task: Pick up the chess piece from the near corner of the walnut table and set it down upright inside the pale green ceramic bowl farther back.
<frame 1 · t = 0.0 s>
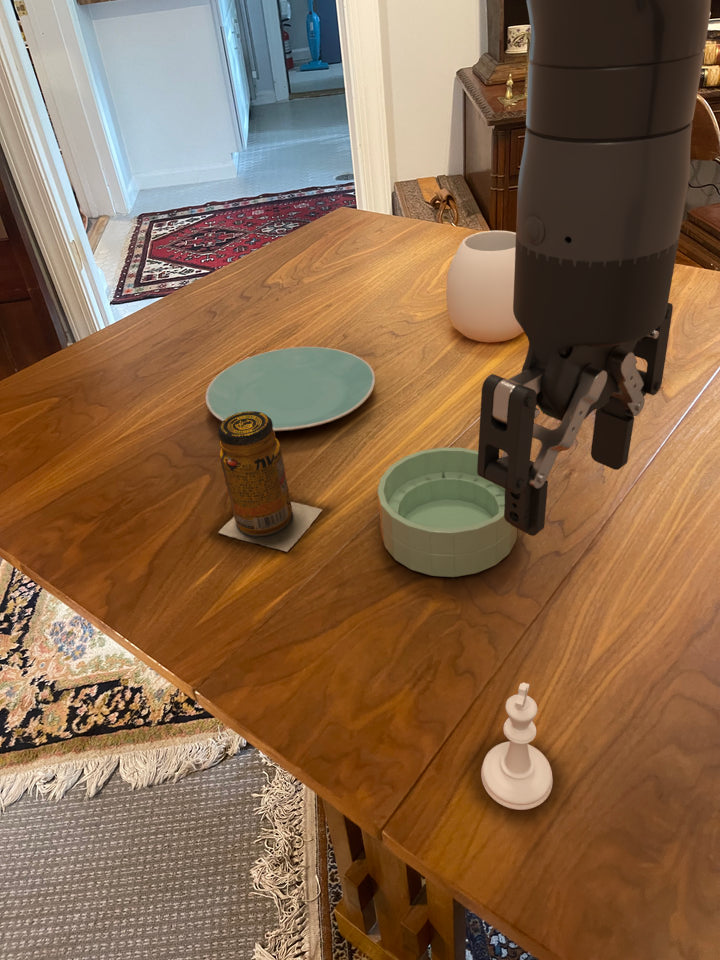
hand: (568, 493, 45), 20 cm above the table, tool pointing down, fingers open, 8 cm apart
plate: (293, 403, 97), on the table
bowl: (448, 534, 73), on the table
condiment: (271, 524, 77), on the table
chess piece: (516, 778, 52), on the table
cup: (491, 332, 108), on the table
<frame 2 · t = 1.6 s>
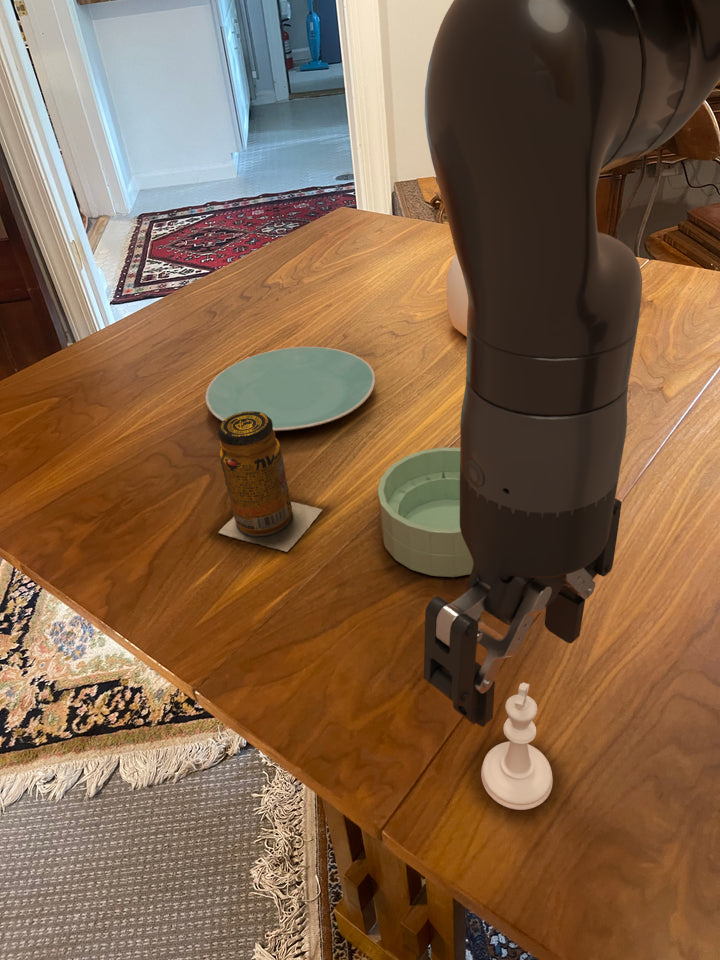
hand: (519, 672, 45), 11 cm above the table, tool pointing down, fingers open, 8 cm apart
nothing on the table moved.
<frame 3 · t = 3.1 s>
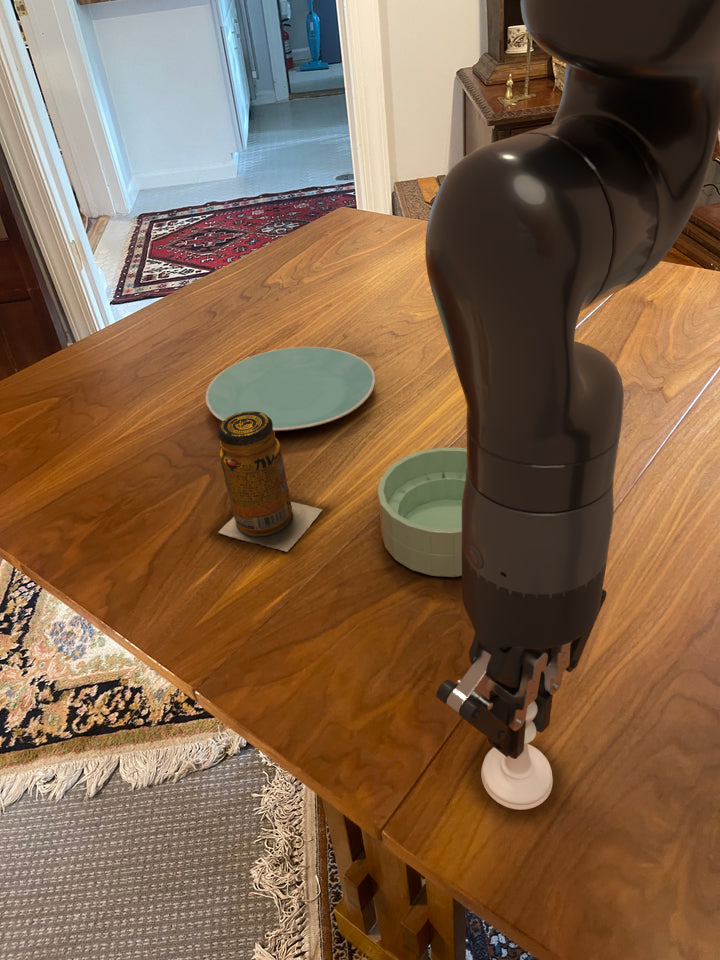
hand: (519, 733, 49), 5 cm above the table, tool pointing down, fingers closed on chess piece
chess piece: (516, 778, 52), on the table, touching gripper
everything else where it was.
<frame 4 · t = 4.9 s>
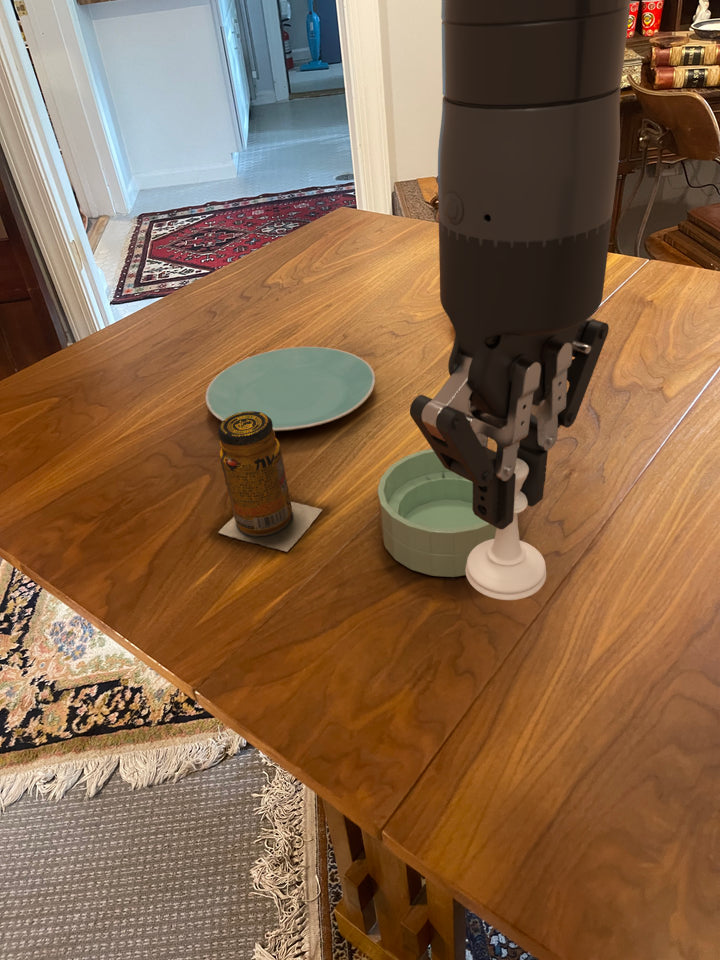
hand: (509, 508, 43), 21 cm above the table, tool pointing down, fingers closed on chess piece
chess piece: (505, 574, 46), point 16 cm above the table, touching gripper
everything else where it was.
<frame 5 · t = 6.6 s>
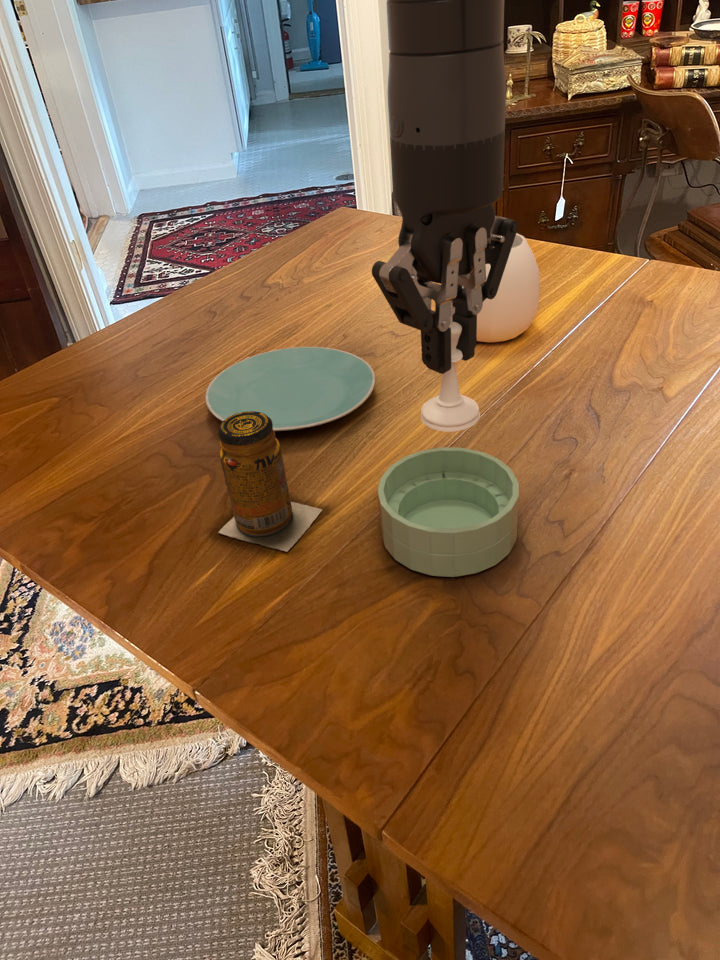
hand: (450, 362, 58), 21 cm above the table, tool pointing down, fingers closed on chess piece
chess piece: (450, 418, 61), point 15 cm above the table, touching gripper
everything else where it was.
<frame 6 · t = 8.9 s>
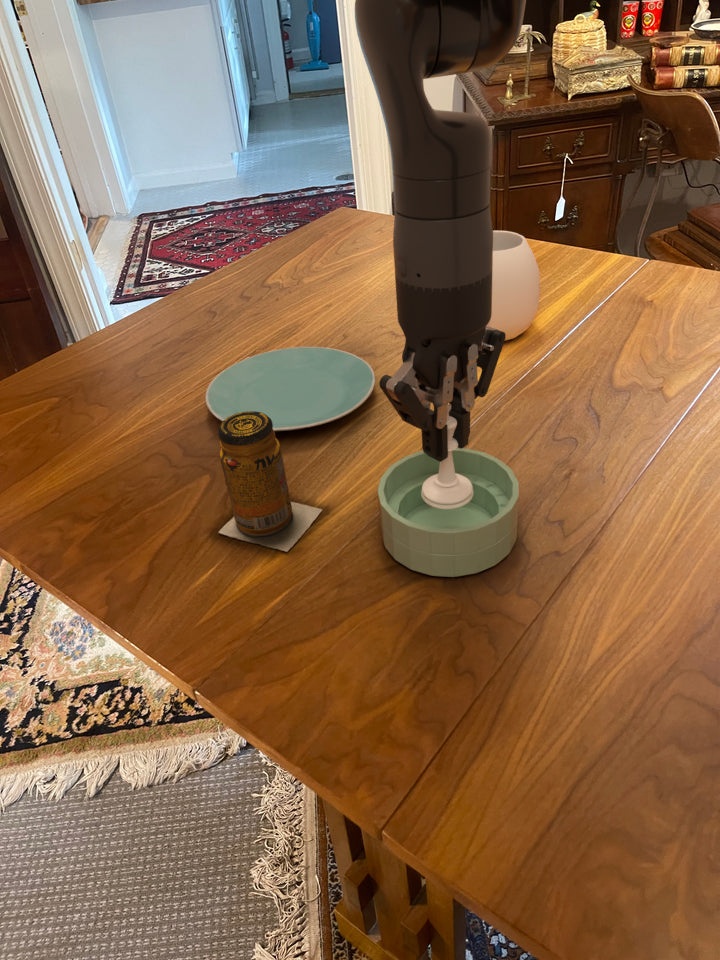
hand: (446, 449, 67), 10 cm above the table, tool pointing down, fingers closed on chess piece
chess piece: (447, 494, 70), point 5 cm above the table, touching gripper
everything else where it was.
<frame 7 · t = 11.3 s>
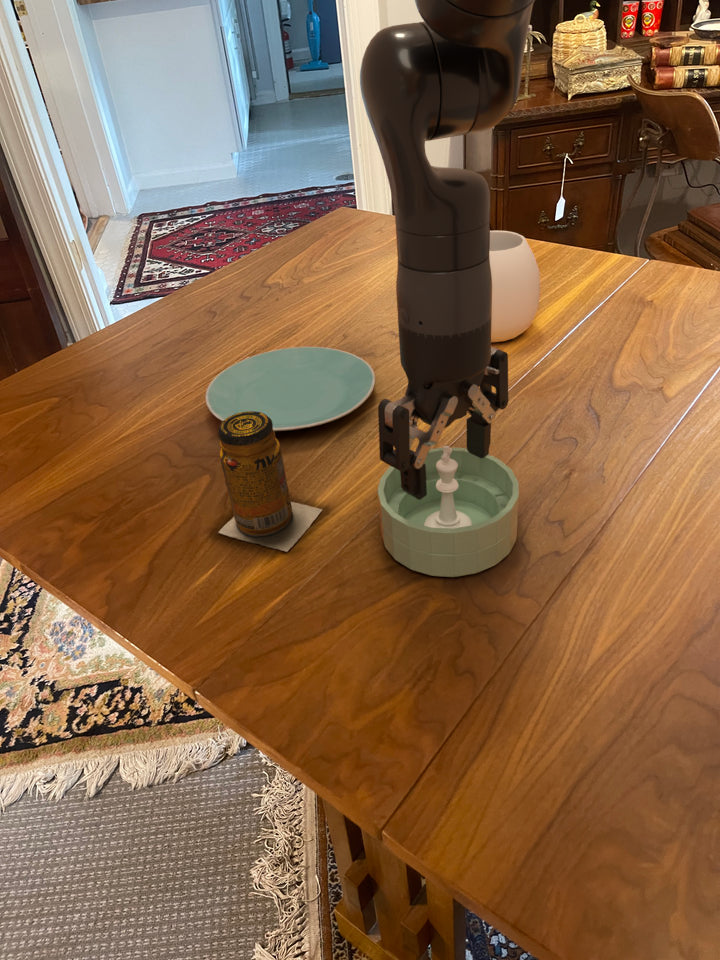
hand: (447, 473, 68), 8 cm above the table, tool pointing down, fingers open, 8 cm apart
chess piece: (448, 531, 73), resting on bowl
everything else where it was.
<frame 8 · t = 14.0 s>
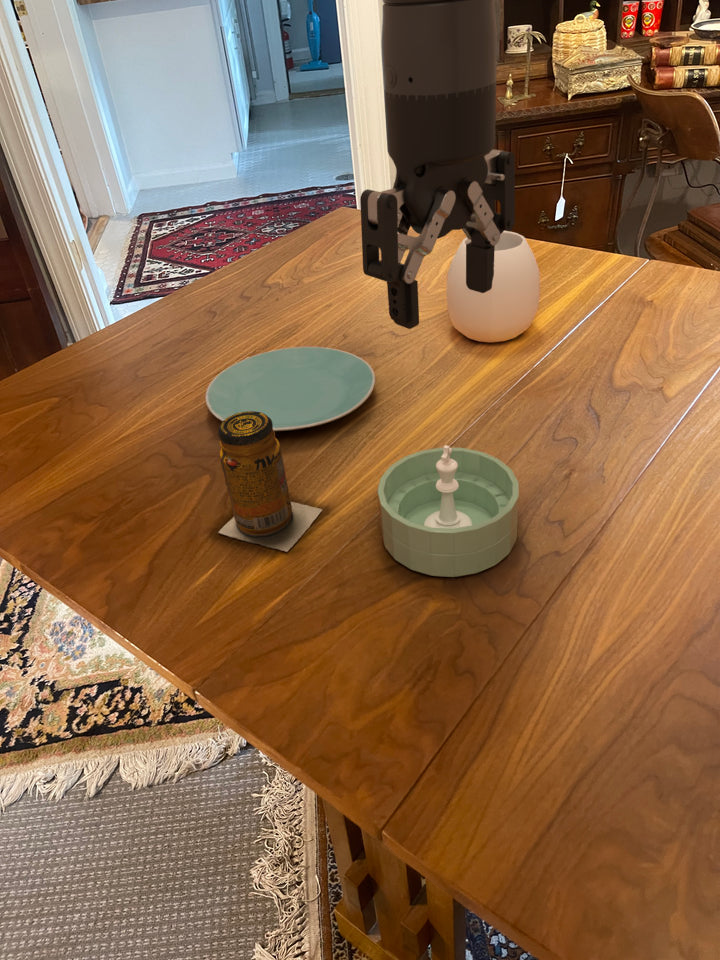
hand: (444, 306, 59), 24 cm above the table, tool pointing down, fingers open, 8 cm apart
nothing on the table moved.
at the end: chess piece inside the target area in the bowl (0.1 cm from its centre), point 0.4 cm above the bowl's base; the gripper is holding nothing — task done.
